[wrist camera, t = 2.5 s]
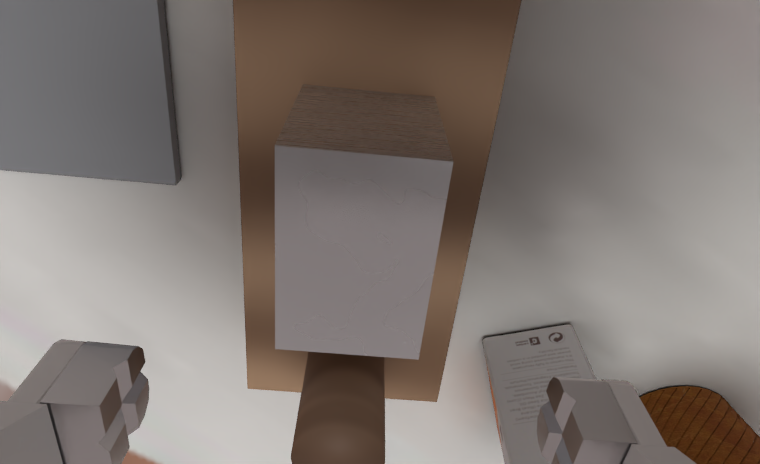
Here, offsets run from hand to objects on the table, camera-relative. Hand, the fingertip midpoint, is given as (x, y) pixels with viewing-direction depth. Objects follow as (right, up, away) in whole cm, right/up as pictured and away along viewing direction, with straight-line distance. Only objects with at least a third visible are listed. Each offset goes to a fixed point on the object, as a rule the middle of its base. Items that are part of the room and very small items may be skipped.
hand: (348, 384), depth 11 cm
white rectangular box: (0, +5, +7) cm, 8 cm away
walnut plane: (0, +6, +10) cm, 11 cm away
